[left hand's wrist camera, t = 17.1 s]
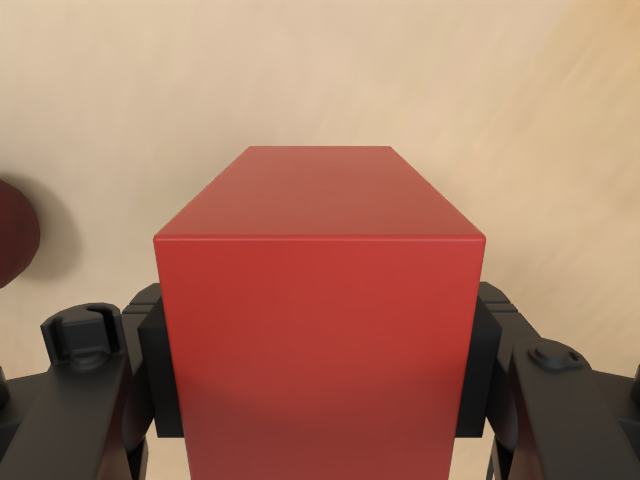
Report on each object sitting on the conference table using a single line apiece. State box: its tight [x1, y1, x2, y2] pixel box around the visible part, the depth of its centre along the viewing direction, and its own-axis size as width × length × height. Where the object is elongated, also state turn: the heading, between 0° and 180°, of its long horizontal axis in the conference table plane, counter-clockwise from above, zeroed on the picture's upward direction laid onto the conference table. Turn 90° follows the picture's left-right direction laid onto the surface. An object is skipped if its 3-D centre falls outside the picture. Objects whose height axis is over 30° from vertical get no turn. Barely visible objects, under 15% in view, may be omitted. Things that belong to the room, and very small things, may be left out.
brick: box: [153, 146, 486, 480], centre depth 12 cm, size 7×5×10 cm
